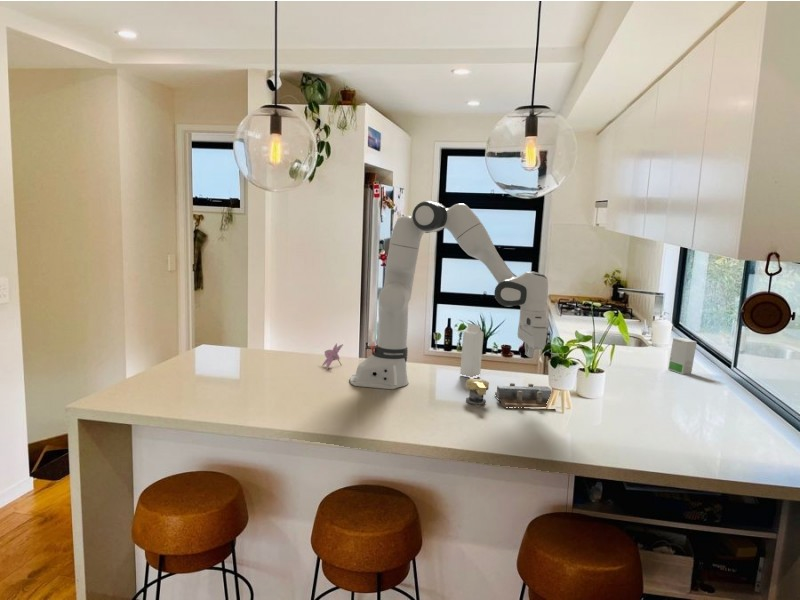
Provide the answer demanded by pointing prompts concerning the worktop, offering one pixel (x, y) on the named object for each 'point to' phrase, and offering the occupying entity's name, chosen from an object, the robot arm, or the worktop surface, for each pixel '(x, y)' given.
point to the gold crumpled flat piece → (477, 385)
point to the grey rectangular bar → (528, 392)
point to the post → (475, 398)
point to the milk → (471, 351)
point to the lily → (332, 355)
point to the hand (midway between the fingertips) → (528, 356)
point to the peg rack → (523, 403)
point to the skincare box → (682, 355)
